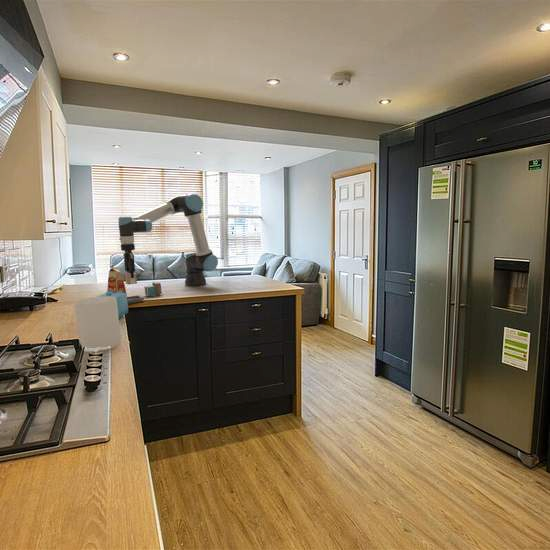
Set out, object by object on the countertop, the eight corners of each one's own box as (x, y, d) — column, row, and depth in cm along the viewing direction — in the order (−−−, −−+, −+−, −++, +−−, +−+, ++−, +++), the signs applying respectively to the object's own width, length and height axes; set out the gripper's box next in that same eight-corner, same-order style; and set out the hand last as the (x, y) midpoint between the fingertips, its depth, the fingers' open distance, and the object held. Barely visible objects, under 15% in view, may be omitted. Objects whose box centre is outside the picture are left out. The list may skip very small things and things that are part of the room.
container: (94, 339, 158) (89, 296, 155) (127, 339, 156) (123, 295, 154) (72, 352, 143) (66, 304, 141) (109, 351, 142) (104, 304, 139)
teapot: (113, 324, 180) (110, 295, 178) (90, 324, 181) (87, 296, 179) (134, 312, 201) (131, 286, 199) (113, 313, 202) (111, 287, 200)
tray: (139, 298, 236) (138, 295, 236) (144, 301, 228) (143, 297, 228) (122, 301, 230) (121, 297, 230) (126, 304, 222) (126, 300, 222)
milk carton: (119, 299, 239) (116, 267, 236) (106, 298, 240) (102, 267, 237) (127, 295, 247) (124, 265, 244) (115, 295, 249) (111, 265, 246)
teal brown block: (158, 293, 252) (157, 281, 250) (162, 294, 246) (161, 282, 245) (144, 295, 246) (143, 283, 245) (148, 297, 241) (147, 284, 240)
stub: (134, 282, 231) (133, 272, 230) (136, 283, 227) (136, 273, 226) (125, 283, 228) (124, 273, 227) (128, 284, 224) (127, 274, 223)
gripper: (116, 243, 229) (120, 282, 233) (124, 244, 215) (128, 285, 218) (129, 242, 233) (133, 280, 237) (138, 243, 219) (142, 284, 222)
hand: (131, 282), depth 227 cm, fingers closed on stub, 5 cm apart
